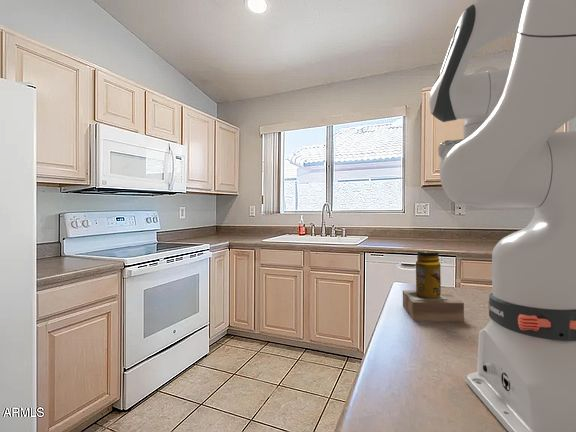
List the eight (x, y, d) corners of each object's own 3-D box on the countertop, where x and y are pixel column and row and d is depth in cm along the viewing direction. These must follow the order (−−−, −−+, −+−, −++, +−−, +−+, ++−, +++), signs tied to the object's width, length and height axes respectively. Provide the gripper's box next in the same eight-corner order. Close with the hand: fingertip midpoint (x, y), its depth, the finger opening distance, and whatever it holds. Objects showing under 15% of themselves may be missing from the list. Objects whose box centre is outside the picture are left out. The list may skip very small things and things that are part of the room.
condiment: (447, 299, 84) (447, 252, 83) (416, 300, 83) (415, 253, 83) (432, 292, 91) (432, 249, 91) (403, 293, 90) (402, 250, 90)
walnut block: (464, 323, 80) (463, 303, 80) (413, 322, 82) (412, 302, 82) (447, 308, 92) (446, 290, 92) (402, 307, 94) (402, 290, 94)
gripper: (440, 138, 81) (441, 193, 81) (536, 131, 76) (536, 190, 76) (436, 143, 87) (436, 194, 87) (524, 137, 82) (524, 192, 82)
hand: (484, 193), depth 82 cm, fingers open, 8 cm apart
